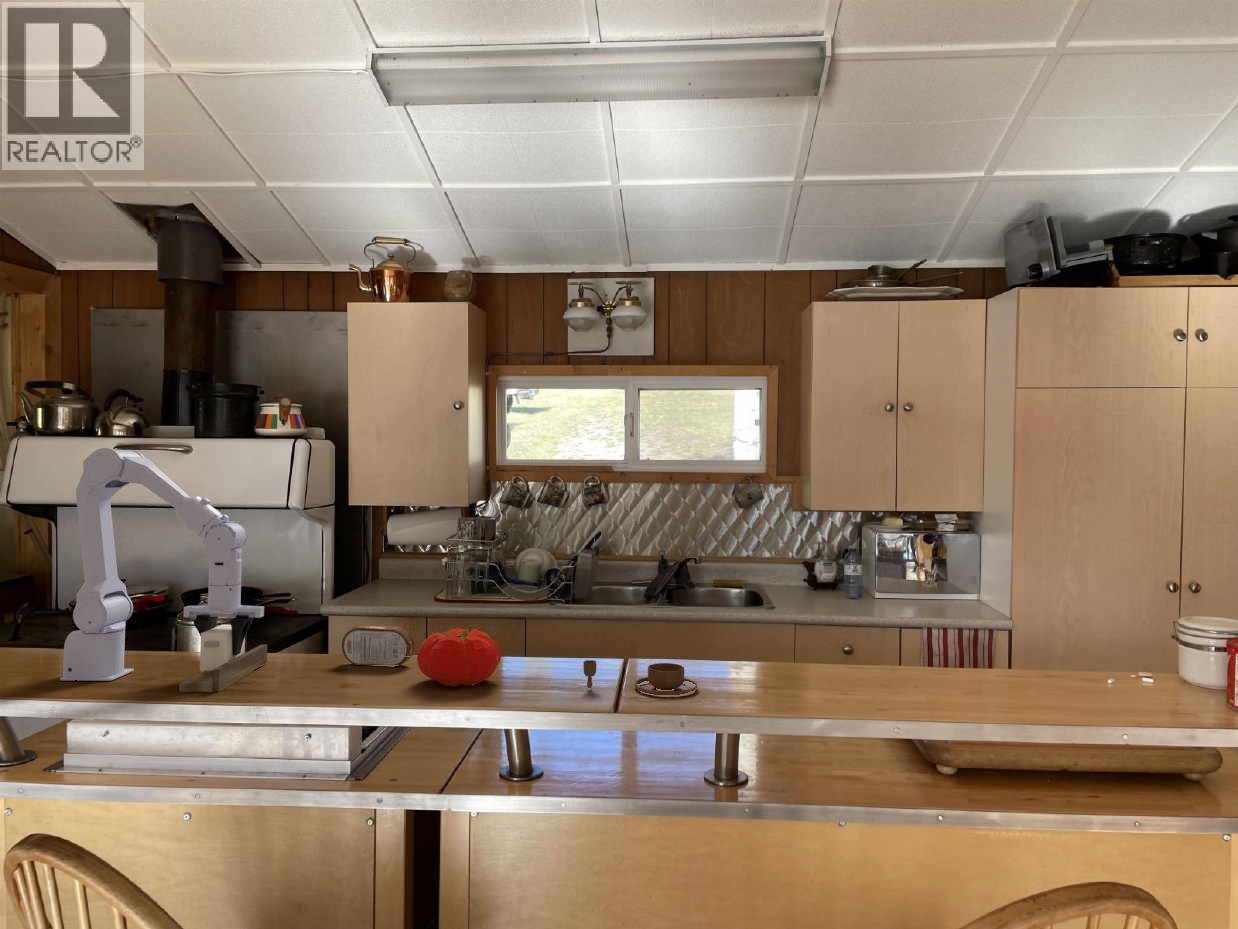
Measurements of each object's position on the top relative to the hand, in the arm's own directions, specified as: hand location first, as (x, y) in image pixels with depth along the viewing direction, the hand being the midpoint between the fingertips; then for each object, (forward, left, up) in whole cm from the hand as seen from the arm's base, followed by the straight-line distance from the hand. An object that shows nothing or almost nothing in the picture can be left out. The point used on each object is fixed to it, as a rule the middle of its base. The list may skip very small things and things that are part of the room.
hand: (223, 654), depth 155 cm
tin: (+27, +10, -5) cm, 29 cm away
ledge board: (+1, 0, -4) cm, 4 cm away
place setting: (+82, -7, -5) cm, 83 cm away
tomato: (+46, -4, -5) cm, 47 cm away
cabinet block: (0, 0, -2) cm, 2 cm away
